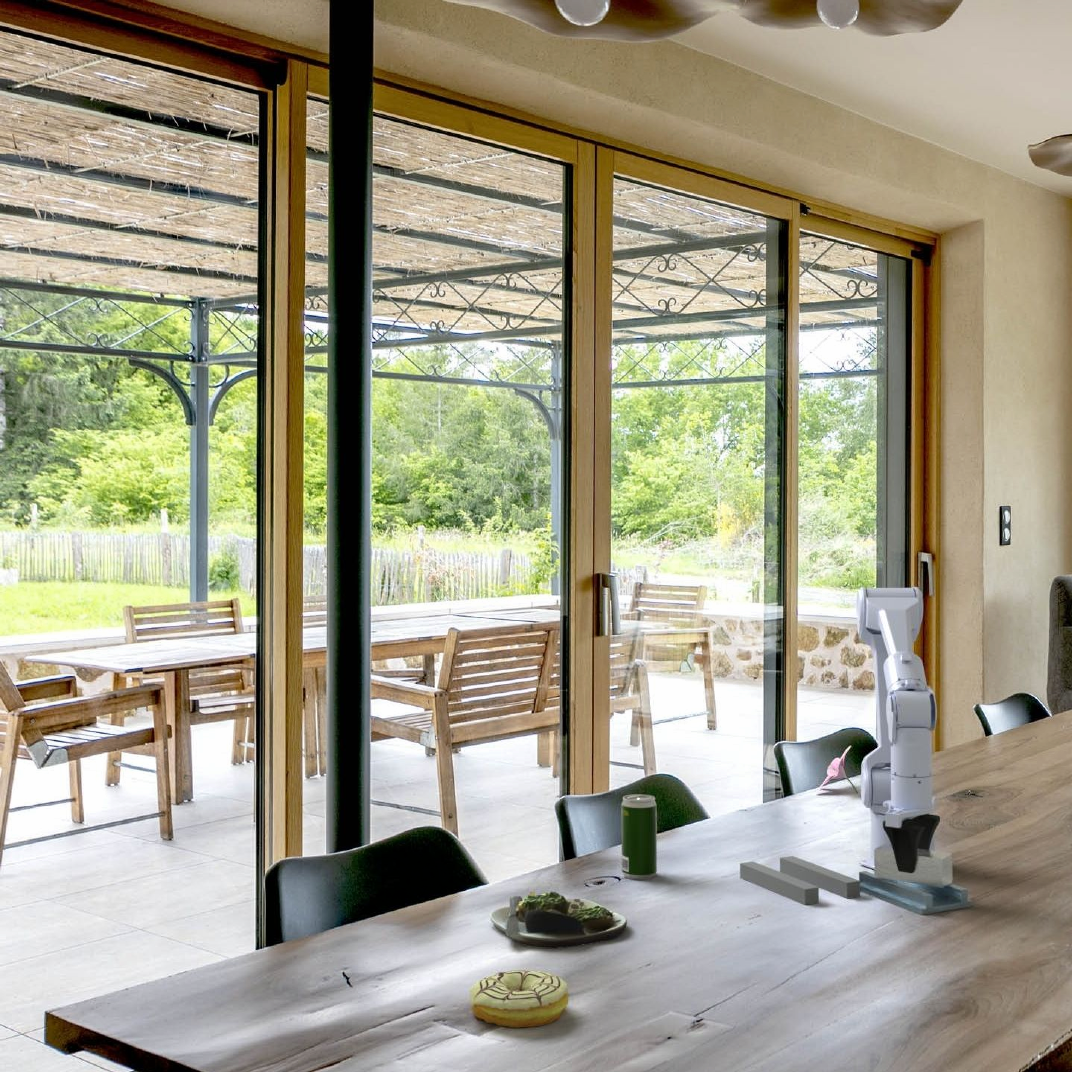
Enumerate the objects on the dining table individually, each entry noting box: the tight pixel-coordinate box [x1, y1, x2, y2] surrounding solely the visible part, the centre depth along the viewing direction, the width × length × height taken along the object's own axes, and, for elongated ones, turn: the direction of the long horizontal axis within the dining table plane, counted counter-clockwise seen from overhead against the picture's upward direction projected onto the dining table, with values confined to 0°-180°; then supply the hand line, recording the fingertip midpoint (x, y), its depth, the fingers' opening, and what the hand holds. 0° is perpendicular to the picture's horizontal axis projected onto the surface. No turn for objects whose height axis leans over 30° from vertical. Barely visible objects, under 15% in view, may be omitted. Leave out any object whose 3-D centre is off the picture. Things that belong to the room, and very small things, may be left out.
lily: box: [816, 745, 859, 795], centre depth 259 cm, size 12×12×10 cm
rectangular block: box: [873, 844, 953, 888], centre depth 184 cm, size 4×10×4 cm, turn 53°
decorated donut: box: [469, 969, 570, 1029], centre depth 141 cm, size 10×11×4 cm
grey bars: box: [739, 855, 861, 906], centre depth 190 cm, size 10×16×2 cm, turn 25°
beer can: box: [620, 793, 658, 881], centre depth 197 cm, size 5×5×12 cm
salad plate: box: [489, 890, 628, 949], centre depth 172 cm, size 19×18×5 cm
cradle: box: [858, 870, 973, 916], centre depth 184 cm, size 9×14×2 cm, turn 25°
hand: (911, 868), depth 184 cm, fingers closed on rectangular block, 4 cm apart
